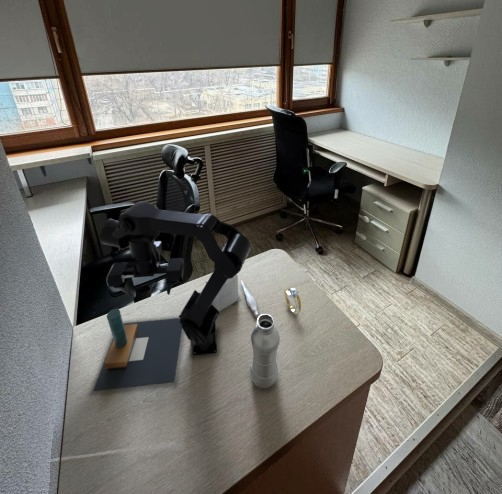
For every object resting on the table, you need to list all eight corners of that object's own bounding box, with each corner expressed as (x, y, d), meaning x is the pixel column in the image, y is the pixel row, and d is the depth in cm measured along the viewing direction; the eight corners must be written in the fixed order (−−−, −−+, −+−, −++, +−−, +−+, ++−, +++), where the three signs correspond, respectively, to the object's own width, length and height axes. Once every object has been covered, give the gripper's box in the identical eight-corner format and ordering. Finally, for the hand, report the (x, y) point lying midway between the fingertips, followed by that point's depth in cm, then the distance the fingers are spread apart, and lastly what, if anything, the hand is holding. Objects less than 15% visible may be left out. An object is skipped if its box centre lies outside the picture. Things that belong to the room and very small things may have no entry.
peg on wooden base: (139, 331, 77) (130, 296, 72) (127, 369, 68) (116, 332, 63) (121, 333, 77) (111, 297, 71) (106, 371, 68) (93, 334, 62)
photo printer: (233, 291, 90) (232, 262, 86) (240, 300, 87) (239, 271, 82) (205, 306, 85) (202, 276, 80) (211, 316, 82) (208, 286, 77)
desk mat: (183, 318, 81) (183, 317, 81) (174, 382, 66) (174, 381, 65) (118, 324, 80) (118, 323, 79) (93, 392, 64) (92, 391, 64)
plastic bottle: (249, 364, 69) (248, 309, 62) (275, 361, 70) (277, 307, 62) (251, 393, 63) (251, 337, 56) (279, 390, 64) (283, 334, 56)
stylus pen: (261, 316, 81) (261, 312, 81) (253, 320, 80) (253, 315, 80) (244, 280, 94) (244, 276, 93) (237, 282, 93) (236, 278, 93)
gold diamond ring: (302, 317, 81) (304, 298, 78) (293, 321, 80) (294, 302, 77) (290, 299, 87) (291, 280, 84) (281, 302, 86) (282, 284, 83)
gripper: (184, 227, 76) (189, 269, 82) (116, 232, 74) (126, 274, 80) (178, 255, 66) (185, 301, 72) (99, 261, 64) (112, 308, 70)
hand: (152, 294), depth 74 cm, fingers open, 9 cm apart
